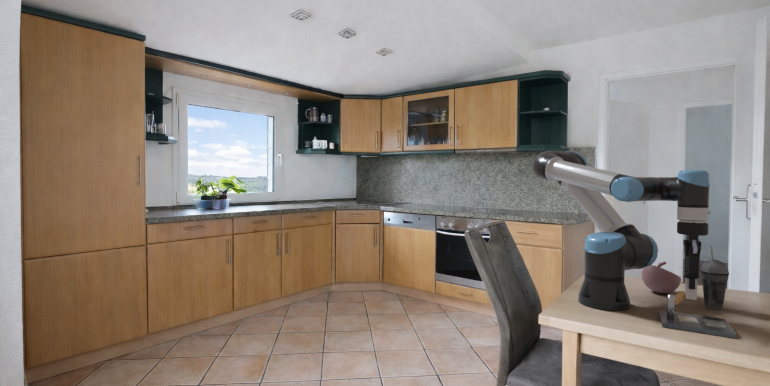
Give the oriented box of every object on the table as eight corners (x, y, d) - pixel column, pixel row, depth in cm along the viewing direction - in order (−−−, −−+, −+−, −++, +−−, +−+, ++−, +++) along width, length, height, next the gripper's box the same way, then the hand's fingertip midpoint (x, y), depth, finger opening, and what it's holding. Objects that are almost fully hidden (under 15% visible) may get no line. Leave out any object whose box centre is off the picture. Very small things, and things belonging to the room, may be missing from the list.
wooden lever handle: (677, 305, 116) (677, 299, 116) (667, 303, 118) (667, 297, 118) (688, 298, 124) (688, 292, 124) (679, 296, 126) (679, 290, 126)
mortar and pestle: (689, 296, 142) (690, 264, 142) (662, 298, 139) (662, 265, 139) (659, 287, 154) (659, 257, 153) (633, 289, 151) (633, 259, 150)
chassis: (662, 326, 112) (662, 299, 112) (658, 313, 124) (659, 288, 123) (736, 338, 104) (737, 308, 104) (725, 323, 115) (726, 296, 115)
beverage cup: (733, 312, 125) (735, 248, 124) (707, 310, 126) (709, 247, 126) (719, 305, 132) (721, 244, 131) (694, 303, 134) (696, 244, 133)
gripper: (712, 223, 113) (710, 306, 114) (704, 220, 124) (702, 295, 125) (679, 222, 117) (678, 302, 117) (674, 219, 128) (673, 292, 129)
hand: (690, 299), depth 121 cm, fingers closed
